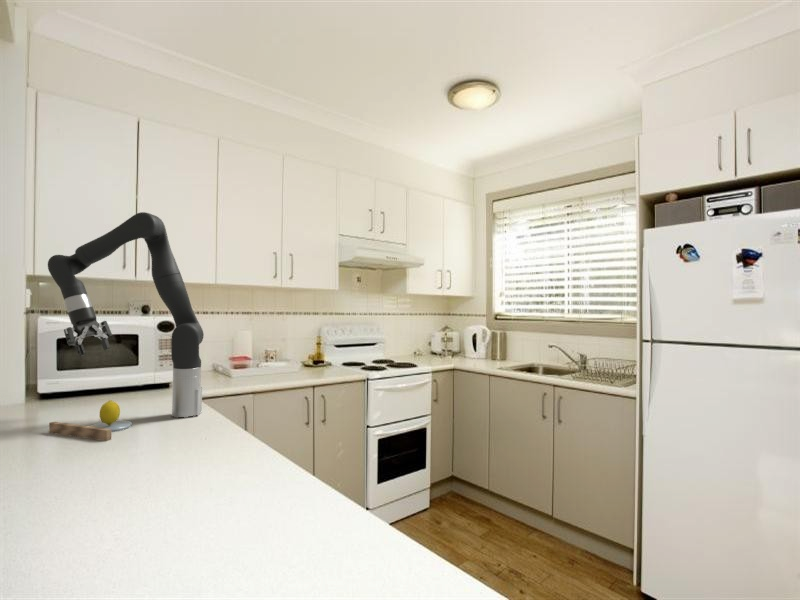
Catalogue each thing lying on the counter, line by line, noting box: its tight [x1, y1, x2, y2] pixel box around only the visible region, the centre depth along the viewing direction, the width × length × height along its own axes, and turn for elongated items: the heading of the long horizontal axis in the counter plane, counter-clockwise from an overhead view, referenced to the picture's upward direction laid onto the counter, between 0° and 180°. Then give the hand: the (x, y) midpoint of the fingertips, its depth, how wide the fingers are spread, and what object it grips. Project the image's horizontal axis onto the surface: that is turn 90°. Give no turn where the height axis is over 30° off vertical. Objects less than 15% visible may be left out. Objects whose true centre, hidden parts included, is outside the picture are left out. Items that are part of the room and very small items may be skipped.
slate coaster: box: [89, 420, 132, 433], centre depth 143 cm, size 12×12×1 cm
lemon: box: [99, 400, 121, 425], centre depth 144 cm, size 6×6×8 cm
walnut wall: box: [48, 421, 113, 442], centre depth 134 cm, size 24×2×3 cm, turn 71°
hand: (95, 352), depth 158 cm, fingers open, 8 cm apart
